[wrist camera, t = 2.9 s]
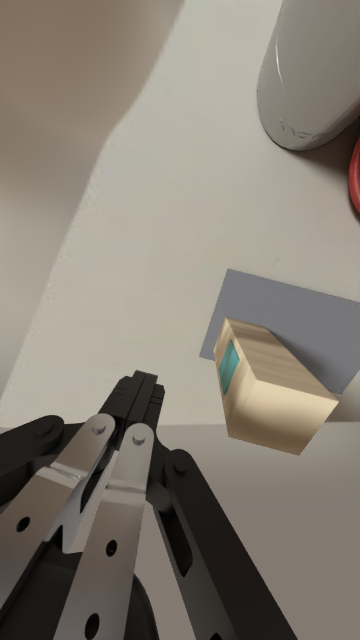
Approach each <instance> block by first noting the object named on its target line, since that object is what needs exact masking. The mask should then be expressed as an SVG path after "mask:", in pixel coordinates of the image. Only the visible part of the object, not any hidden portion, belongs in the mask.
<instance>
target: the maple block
mask: <svg viewBox="0 0 360 640" xmlns="http://www.w3.org/2000/svg"><path fill="white" fill-rule="evenodd" d="M213 351H214V356H215V362H216V368H217V373H218V379H219V385H220V391H221V396H222V402H223V408H224V414H225V419H226V425H227V431H228V436H229V437H231V438H235V439H239V440H243V441H246V442H250V443H253V444H257V445H261V446H265V447H269V448H272V449H276V450H280V451H283V452H287V453H291V454H295V455H298V456H299V455H300V454H301V452H302V451H303V450H304V448H305V447H306V445H307V444H308V443H309V441H310V440H311V439H312V437H313V436H314V435H315V433H316V432H317V431H318V429H319V428H320V427H321V425H322V424H323V423H324V421H325V420H326V419H327V417H328V416H329V415H330V413H331V412H332V411H333V409H334V408H335V406H336V405H337V404H338V402H339V401H338V400H337V399H336V398H335V397H334V396H333V395H332V394H331V393H330V392H329V391H328V390H327V389H326V388H325V387H324V386H323V385H322V384H321V383H320V382H319V381H318V380H317V379H316V378H315V377H314V376H313V375H312V374H311V373H310V372H309V371H308V370H307V369H306V368H305V367H304V366H303V365H302V364H301V363H300V362H299V361H298V360H297V359H296V358H295V357H294V356H293V355H292V354H291V353H290V352H289V351H288V350H287V349H286V348H285V347H284V346H283V345H282V344H281V343H280V342H279V341H278V340H277V339H276V338H275V337H274V336H273V335H272V334H271V333H270V332H269V331H268V330H267V329H266V328H265V327H264V326H260V325H256V324H252V323H249V322H245V321H241V320H237V319H233V318H229V317H225V320H224V322H223V325H222V328H221V331H220V334H219V336H218V339H217V342H216V345H215V348H214V350H213Z"/></svg>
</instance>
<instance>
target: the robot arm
mask: <svg viewBox="0 0 360 640" xmlns="http://www.w3.org/2000/svg"><path fill="white" fill-rule="evenodd" d="M257 99H258V110H259V114H260V119H261V121H262V124H263V126H264V128H265V130H266V132H267V133H268V134H269V136H270V137H271V138H272V139H273V140H274V141H275V142H276V143H278V144H279V145H280V146H283V147H285V148H288V149H290V150H300V151H301V150H308V149H313V148H316V147H318V146H321V145H323V144H325V143H327V142H328V141H330V140H332V139H333V138H335V137H336V136H337V135H338V134H339V133H341V132H342V131H343V130H344V129H345V128H346V127H347V126H349V125H350V124H351V123H352V122H353V121H354V120H355V119H357V118H358V117H359V116H360V0H283V3H282V6H281V9H280V12H279V15H278V18H277V21H276V24H275V27H274V30H273V33H272V36H271V39H270V42H269V45H268V48H267V51H266V54H265V57H264V60H263V64H262V67H261V71H260V74H259V82H258V89H257ZM157 378H158V376H157V375H153V374H150V373H145V372H142V371H138V370H136V371H135V373H134V374H133V376H132V377H128V376H125V377H123V378H122V379H120V380H119V382H118V383H117V385H116V386H115V388H114V389H113V391H112V393H111V394H110V395H109V397H108V398H107V400H106V401H105V403H104V405H103V406H102V408H101V409H100V411H99V412H98V414H96V415H94V416H92V417H90V418H89V419H88V420H87V421H86V422H83V423H76V424H64V421H63V419H62V418H61V417H59V416H56V415H48V416H44V417H41V418H39V419H36V420H34V421H31V422H29V423H26V424H24V425H22V426H19V427H17V428H14V429H12V430H9V431H7V432H4V433H2V434H0V640H159V635H158V631H157V626H156V622H155V618H154V613H153V610H152V607H151V603H150V600H149V598H148V595H147V593H146V591H145V589H144V587H143V585H142V583H141V582H140V580H139V579H138V577H137V576H136V575H135V574H134V568H135V562H136V556H137V549H138V543H139V537H140V530H141V523H142V517H143V510H144V505H145V500H147V501H148V502H149V503H150V504H151V505H153V510H154V513H155V517H156V519H157V522H158V526H159V529H160V532H161V534H162V537H163V540H164V543H165V547H166V550H167V553H168V556H169V559H170V562H171V565H172V567H173V571H174V574H175V577H176V580H177V583H178V586H179V589H180V592H181V595H182V598H183V601H184V604H185V607H186V610H187V613H188V616H189V619H190V622H191V625H192V628H193V631H194V634H195V637H196V640H298V639H297V637H296V636H295V634H294V632H293V630H292V629H291V627H290V625H289V624H288V622H287V620H286V618H285V617H284V615H283V613H282V611H281V610H280V608H279V606H278V605H277V603H276V601H275V599H274V598H273V596H272V594H271V592H270V591H269V589H268V587H267V586H266V584H265V582H264V580H263V579H262V577H261V575H260V574H259V572H258V570H257V568H256V567H255V565H254V563H253V561H252V560H251V558H250V556H249V555H248V553H247V551H246V550H245V547H244V546H243V544H242V542H241V541H240V539H239V537H238V535H237V534H236V532H235V531H234V528H233V527H232V525H231V523H230V522H229V520H228V518H227V517H226V515H225V513H224V511H223V509H222V508H221V506H220V504H219V503H218V501H217V499H216V498H215V496H214V494H213V492H212V490H211V489H210V487H209V485H208V483H207V482H206V480H205V478H204V477H203V475H202V473H201V471H200V470H199V468H198V466H197V464H196V463H195V461H194V460H193V458H192V456H191V455H190V454H189V453H188V452H186V451H184V450H182V449H175V450H172V451H170V450H169V449H168V448H166V447H165V446H163V445H162V444H161V443H160V441H159V440H158V438H157V435H156V428H157V423H158V419H159V415H160V411H161V407H162V403H163V399H164V394H165V390H164V386H163V385H159V384H156V382H157ZM115 450H117V451H119V453H118V456H117V459H116V462H115V465H114V468H113V471H112V474H111V477H110V479H109V482H108V485H107V486H106V488H105V490H104V492H103V495H102V498H101V501H100V504H99V507H98V510H97V512H96V515H95V518H94V521H93V524H92V527H91V530H90V533H89V536H88V539H87V542H86V545H85V548H84V550H83V552H77V553H71V554H68V552H69V550H70V548H71V546H72V544H73V541H74V539H75V537H76V534H77V531H78V529H79V526H80V523H81V521H82V518H83V516H84V514H85V512H86V510H87V508H88V506H89V504H90V502H91V500H92V498H93V496H94V494H95V492H96V490H97V488H98V486H99V484H100V482H101V480H102V478H103V476H104V474H105V472H106V470H107V468H108V465H109V462H110V460H111V458H112V455H113V453H114V451H115ZM25 528H26V529H25Z"/></svg>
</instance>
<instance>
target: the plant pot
mask: <svg viewBox="0 0 360 640" xmlns="http://www.w3.org/2000/svg"><path fill="white" fill-rule="evenodd" d="M349 190H350V195H351V198H352V202H353V204H354V206H355V207H356V209H357V210H358V212H359V213H360V136H359V138H358V141H357V143H356V146H355V149H354V151H353V155H352V159H351V163H350V168H349Z"/></svg>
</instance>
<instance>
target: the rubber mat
mask: <svg viewBox="0 0 360 640" xmlns="http://www.w3.org/2000/svg"><path fill="white" fill-rule="evenodd" d="M225 317H229V318H233V319H237V320H241V321H245V322H249V323H252V324H256V325H260V326H264V327H265V328H266V329H267V330H268V331H269V332H270V333H271V334H272V335H273V336H274V337H275V338H276V339H277V340H278V341H279V342H280V343H281V344H282V345H283V346H284V347H285V348H286V349H287V350H288V351H289V352H290V353H291V354H292V355H293V356H294V357H295V358H296V359H297V360H298V361H299V362H300V363H301V364H302V365H303V366H304V367H305V368H306V369H307V370H308V371H309V372H310V373H311V374H312V375H313V376H314V377H315V378H316V379H317V380H318V381H319V382H320V383H321V384H322V385H323V386H324V387H325V388H326V389H327V390H328V391H331V392H335V393H338V394H342V393H343V391H344V390H345V389H346V387H347V386H348V384H349V383H350V382H351V380H352V379H353V378H354V376H355V375H356V374H357V372H358V371H359V369H360V303H359V302H355V301H351V300H347V299H343V298H339V297H336V296H332V295H328V294H324V293H320V292H316V291H312V290H308V289H305V288H301V287H297V286H293V285H289V284H285V283H281V282H277V281H274V280H270V279H266V278H262V277H258V276H254V275H250V274H246V273H243V272H239V271H235V270H231V269H228V270H227V273H226V276H225V279H224V282H223V285H222V288H221V291H220V294H219V297H218V300H217V303H216V306H215V309H214V313H213V316H212V319H211V322H210V325H209V328H208V331H207V334H206V337H205V340H204V343H203V346H202V349H201V352H200V357H202V358H206V359H209V360H213V361H215V356H214V351H213V350H214V348H215V345H216V342H217V339H218V336H219V334H220V331H221V328H222V325H223V322H224V320H225Z"/></svg>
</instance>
